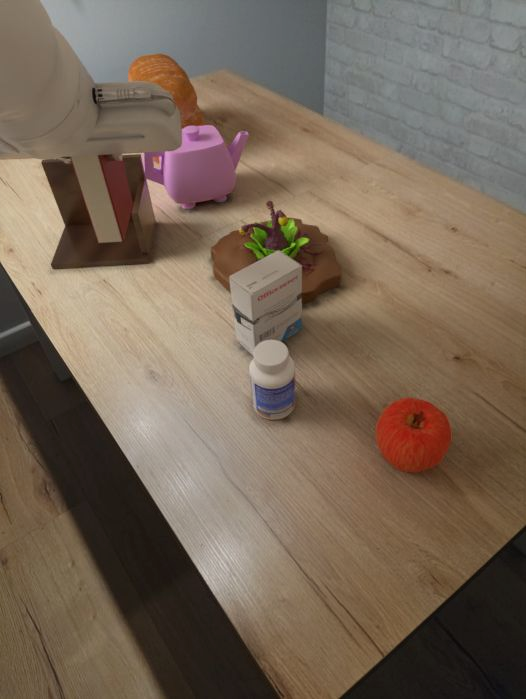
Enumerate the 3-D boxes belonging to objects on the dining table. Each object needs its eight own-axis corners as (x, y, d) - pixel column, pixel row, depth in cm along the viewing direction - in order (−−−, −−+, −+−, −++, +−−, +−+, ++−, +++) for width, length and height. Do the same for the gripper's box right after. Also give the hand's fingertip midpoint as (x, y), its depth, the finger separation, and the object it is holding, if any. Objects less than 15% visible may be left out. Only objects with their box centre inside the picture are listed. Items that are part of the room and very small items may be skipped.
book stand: (52, 269, 85) (22, 199, 76) (67, 227, 93) (42, 159, 84) (148, 263, 85) (131, 193, 76) (156, 222, 93) (140, 153, 84)
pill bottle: (303, 409, 64) (305, 357, 57) (265, 428, 63) (262, 377, 55) (280, 380, 68) (279, 328, 60) (244, 397, 66) (239, 346, 59)
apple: (411, 412, 63) (424, 371, 57) (457, 463, 58) (476, 423, 52) (358, 440, 61) (365, 399, 55) (401, 495, 56) (414, 457, 50)
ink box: (280, 312, 76) (278, 246, 68) (302, 330, 74) (304, 264, 65) (234, 340, 73) (226, 275, 64) (256, 360, 70) (251, 294, 61)
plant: (239, 324, 75) (233, 263, 67) (199, 250, 87) (190, 190, 79) (361, 286, 79) (369, 224, 71) (306, 221, 92) (308, 161, 83)
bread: (152, 171, 106) (135, 94, 95) (130, 120, 123) (114, 50, 111) (215, 158, 108) (206, 82, 97) (185, 110, 125) (175, 40, 114)
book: (97, 244, 58) (63, 141, 49) (109, 204, 64) (80, 105, 55) (124, 243, 58) (94, 139, 49) (133, 203, 64) (108, 104, 55)
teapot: (157, 221, 93) (142, 155, 84) (145, 188, 102) (130, 123, 92) (261, 198, 97) (258, 132, 88) (241, 167, 105) (236, 104, 96)
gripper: (167, 47, 40) (191, 119, 54) (-96, 61, 40) (-4, 129, 54) (172, 130, 40) (194, 180, 54) (-89, 143, 40) (0, 190, 54)
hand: (94, 154), depth 54 cm, fingers closed on book, 3 cm apart
